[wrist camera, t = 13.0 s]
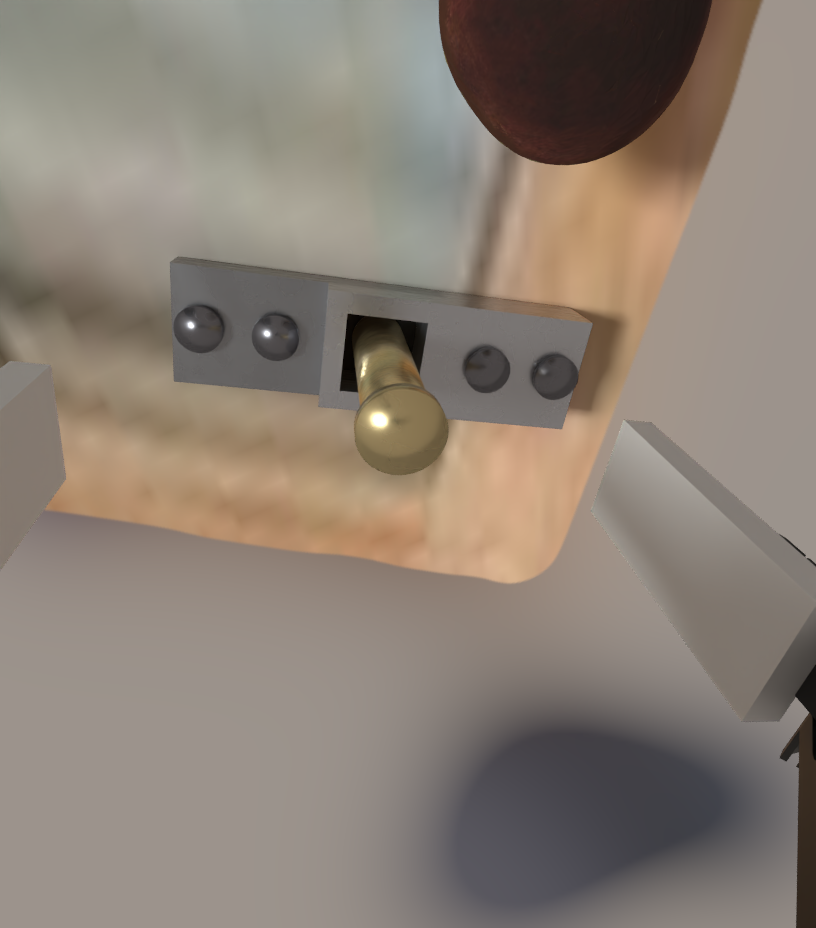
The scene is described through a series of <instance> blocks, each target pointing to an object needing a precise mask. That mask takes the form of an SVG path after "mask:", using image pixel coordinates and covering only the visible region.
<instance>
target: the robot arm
mask: <svg viewBox="0 0 816 928" xmlns="http://www.w3.org/2000/svg"><path fill="white" fill-rule="evenodd" d="M65 480H66V473H65V466H64V458H63V451H62V444H61V436H60V429H59V421H58V414H57V407H56V399H55V392H54V384H53V377H52V369H51V365H46V364H35V363H25V362H15V361H10V362H8V363H7V364H6V365H4V366H3V367H2V368H0V570H1V569H2V568H3V566H4V565H5V563H6V562H7V561H8V559H9V558H10V556H11V555H12V554H13V552H14V551H15V549H16V548H17V547H18V545H19V544H20V542H21V541H22V540H23V538H24V537H25V536H26V534H27V533H28V531H29V530H30V529H31V527H32V526H33V524H34V523H35V521H36V520H37V519H38V517H39V516H40V515H41V513H42V512H43V510H44V509H45V508H46V506H47V505H48V503H49V502H50V501H51V499H52V498H53V496H54V495H55V494H56V492H57V491H58V489H59V488H60V487H61V485H62V484H63V482H64V481H65ZM591 512H592V514H593V515H594V516H595V518H596V519H597V521H598V522H599V523H600V525H601V526H602V528H603V529H604V530H605V532H606V533H607V534H608V536H609V537H610V539H611V540H612V542H613V543H614V544H615V546H616V547H617V549H618V550H619V551H620V553H621V554H622V556H623V557H624V558H625V560H626V561H627V562H628V564H629V565H630V566H631V568H632V570H633V571H634V572H635V574H636V575H637V576H638V578H639V579H640V581H641V582H642V583H643V585H644V586H645V588H646V589H647V590H648V592H649V593H650V594H651V596H652V597H653V599H654V600H655V602H656V603H657V604H658V606H659V607H660V608H661V609H662V611H663V613H664V614H665V616H666V617H667V618H668V620H669V621H670V623H671V624H672V625H673V627H674V628H675V629H676V631H677V632H678V634H679V635H680V636H681V638H682V639H683V641H684V642H685V643H686V645H687V646H688V648H689V649H690V650H691V652H692V653H693V654H694V656H695V657H696V659H697V660H698V662H699V663H700V664H701V666H702V667H703V669H704V670H705V671H706V673H707V674H708V676H709V677H710V678H711V680H712V681H713V682H714V684H715V685H716V687H717V688H718V689H719V691H720V692H721V694H722V695H723V696H724V698H725V699H726V701H727V702H728V703H729V705H730V706H731V708H732V709H733V710H734V712H735V713H736V715H737V716H738V717H739V719H740V720H741V721H742V722H764V721H766V722H767V721H779V720H780V719H781V718H782V716H783V715H784V713H785V712H786V710H787V709H788V707H789V706H790V704H791V703H792V702H793V700H794V699H795V697H797V698H798V700H799V701H800V702H801V703H802V704H803V705H804V707H805V708H806V709H807V710H808V711H809V714H808V716H807V717H806V718H805V720H804V721H803V722H802V724H801V725H800V727H799V728H798V729H797V731H796V732H795V734H794V735H793V736H792V738H791V739H790V741H789V742H788V744H787V745H786V746H785V748H784V749H783V751H782V753H781V756H780V758H781V759H783V760H785V761H787V760H788V759H789V757H790V756H791V754H793V753H797V752H799V763H798V764H797V766H796V767H798V768H799V796H798V857H797V858H798V859H797V915H796V928H816V564H815V563H814V562H813V561H812V560H811V559H809V558H805V556H806V555H805V554H804V553H803V552H801V551H800V550H799V549H798V548H797V547H795V546H794V545H793V544H792V543H791V542H790V541H789V540H788V539H786V538H785V537H783V536H781V535H780V534H778V533H777V532H776V531H774V530H773V529H772V528H771V527H770V526H769V525H768V524H767V523H765V522H764V521H763V520H762V519H761V518H760V517H759V516H757V515H756V514H755V513H754V512H753V511H752V510H751V509H749V508H748V507H747V506H746V505H745V504H743V503H742V502H741V501H740V500H739V499H738V498H737V497H735V495H733V494H732V493H731V492H730V491H729V490H728V489H727V488H726V487H724V486H723V485H722V484H721V483H720V482H719V481H717V480H716V479H715V478H714V477H713V476H712V475H711V474H709V473H708V472H707V471H706V470H705V469H704V468H703V467H702V466H700V465H699V464H698V463H697V462H696V461H695V460H694V459H692V458H691V457H690V456H689V455H688V454H687V453H685V452H684V451H683V450H682V449H681V448H680V447H679V446H678V445H676V444H675V443H674V442H673V441H672V440H671V439H670V438H669V437H667V436H666V435H665V434H664V433H663V432H662V431H661V430H659V429H658V428H657V427H656V426H655V425H654V424H652V423H651V422H641V421H632V420H624V421H623V423H622V426H621V429H620V432H619V434H618V437H617V440H616V443H615V445H614V449H613V451H612V454H611V457H610V459H609V462H608V465H607V467H606V470H605V473H604V476H603V479H602V481H601V484H600V487H599V489H598V492H597V495H596V498H595V501H594V503H593V506H592V509H591Z"/></svg>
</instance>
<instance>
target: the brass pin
mask: <svg viewBox="0 0 816 928" xmlns="http://www.w3.org/2000/svg"><path fill="white" fill-rule="evenodd" d="M352 344H353V353H354V361H355V369H356V377H357V385H358V393H359V401H360V407H359V409H358V411H357V414H356V417H355V421H354V433H355V442H356V446H357V449H358V451H359V453H360V455H361V456H362V458H363V459H364V460H365V461H366V462H367V463H368V464H369V465H370V466H372V467H373V468H375V469H377V470H378V471H381V472H384V473H387V474H392V475H406V474H411V473H415V472H418V471H420V470H422V469H424V468H426V467H428V466H429V465H430V464H432V463H433V462H434V461H435V460H436V459H437V458H438V457H439V455H440V454H441V453H442V451H443V449H444V447H445V445H446V442H447V438H448V422H447V419H446V416H445V413H444V411H443V409H442V407H441V405H440V403H439V402H438V400H437V399H436V398H435V397H434V396H433V395H432V394H431V393H430V392H429V391H427V390H425V387H424V385H423V382H422V380H421V377H420V375H419V372H418V370H417V367H416V365H415V362H414V360H413V357H412V355H411V352H410V350H409V347H408V345H407V342H406V340H405V337H404V335H403V332H402V330H401V328H400V326H399V324H398V323H397V322H396V321H395V320H394V319H389V318H381V317H373V316H366V317H364V318H362V319H361V320H360V321H359V322H358V323H357V324H356V326H355V328H354V330H353V334H352Z"/></svg>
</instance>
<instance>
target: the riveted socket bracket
mask: <svg viewBox="0 0 816 928" xmlns="http://www.w3.org/2000/svg"><path fill="white" fill-rule="evenodd" d="M170 278H171V308H172V337H173V367H174V381H176V382H186V383H197V384H207V385H218V386H228V387H239V388H249V389H260V390H270V391H281V392H292V393H302V394H313V395H319V407H325V408H335V409H346V410H357V411H358V409H359V407H360V401H359V393H358V385H357V377H356V371H350V370H342V363H343V353H344V343H345V334H346V324H347V314H356V315H364V316H373V317H381V318H389V319H398V320H406V321H414V322H417V324H416V330H415V337H414V343H413V349H412V357H413V360H414V362H415V365H416V367H417V370H418V372H419V375H420V377H421V380H422V382H423V385H424V387H425V390H427V391H429V392H430V393H431V394H432V395H433V396H434V397H435V398H436V399H437V400H438V402H439V403H440V405H441V407H442V409H443V411H444V413H445V416H446V419H456V420H466V421H477V422H488V423H499V424H510V425H521V426H532V427H543V428H554V429H562V427H563V424H564V421H565V417H566V414H567V410H568V407H569V404H570V400H571V397H572V393H573V390H574V388H575V386H576V384H577V381H578V373H579V370H580V366H581V363H582V359H583V356H584V353H585V349H586V346H587V342H588V339H589V336H590V332H591V329H592V325H593V323H592V322H590V321H589V320H587V319H586V318H584V317H583V316H581V315H580V314H578V313H577V312H575V311H574V310H572V309H571V308H568V307H560V306H552V305H545V304H537V303H529V302H522V301H514V300H506V299H499V298H491V297H483V296H476V295H468V294H460V293H453V292H445V291H437V290H430V289H422V288H414V287H407V286H399V285H391V284H384V283H376V282H368V281H361V280H353V279H345V278H338V277H330V276H322V275H315V274H307V273H299V272H292V271H284V270H276V269H269V268H261V267H253V266H245V265H238V264H230V263H222V262H215V261H207V260H199V259H192V258H184V257H177V258H175V259H174V260H173V261H171V262H170Z"/></svg>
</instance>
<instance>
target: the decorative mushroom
mask: <svg viewBox="0 0 816 928" xmlns="http://www.w3.org/2000/svg"><path fill="white" fill-rule="evenodd" d="M711 3H712V0H439V25H440V34H441V41H442V46H443V51H444V55H445V59H446V62H447V64H448V66H449V69H450V71H451V74H452V76H453V78H454V81H455V83H456V85H457V87H458V88H459V90H460V92H461V93H462V95H463V97H464V98H465V100H466V101H467V103H468V105H469V106H470V107H471V109H472V110H473V112H474V113H475V115H476V116H477V117H478V118H479V120H480V121H481V122H482V124H483V125H484V126H485V127H486V128H487V130H488V131H489V132H490V133H491V134H492V135H493V136H494V137H495V138H496V139H497V140H498V141H499V142H501V143H502V144H503V145H505V146H506V147H507V148H509V149H510V150H512V151H513V152H515V153H517V154H518V155H520V156H522V157H525V158H527V159H529V160H531V161H535V162H539V163H545V164H554V165H574V164H581V163H587V162H590V161H594V160H597V159H599V158H602V157H605V156H607V155H609V154H612V153H614V152H616V151H618V150H619V149H621V148H623V147H624V146H626V145H628V144H629V143H631V142H632V141H634V140H635V139H636V138H638V137H639V136H640V135H641V134H643V133H644V132H645V131H646V130H647V129H648V128H649V127H650V126H651V125H652V124H653V123H654V122H655V121H656V120H657V119H658V118H659V117H660V115H661V114H662V113H663V112H664V111H665V110H666V108H667V107H668V106H669V104H670V103H671V102H672V100H673V99H674V97H675V96H676V94H677V93H678V91H679V89H680V88H681V86H682V84H683V82H684V80H685V78H686V76H687V74H688V72H689V70H690V68H691V66H692V63H693V61H694V58H695V55H696V53H697V50H698V47H699V45H700V42H701V39H702V36H703V33H704V30H705V27H706V24H707V21H708V17H709V12H710V8H711Z"/></svg>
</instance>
